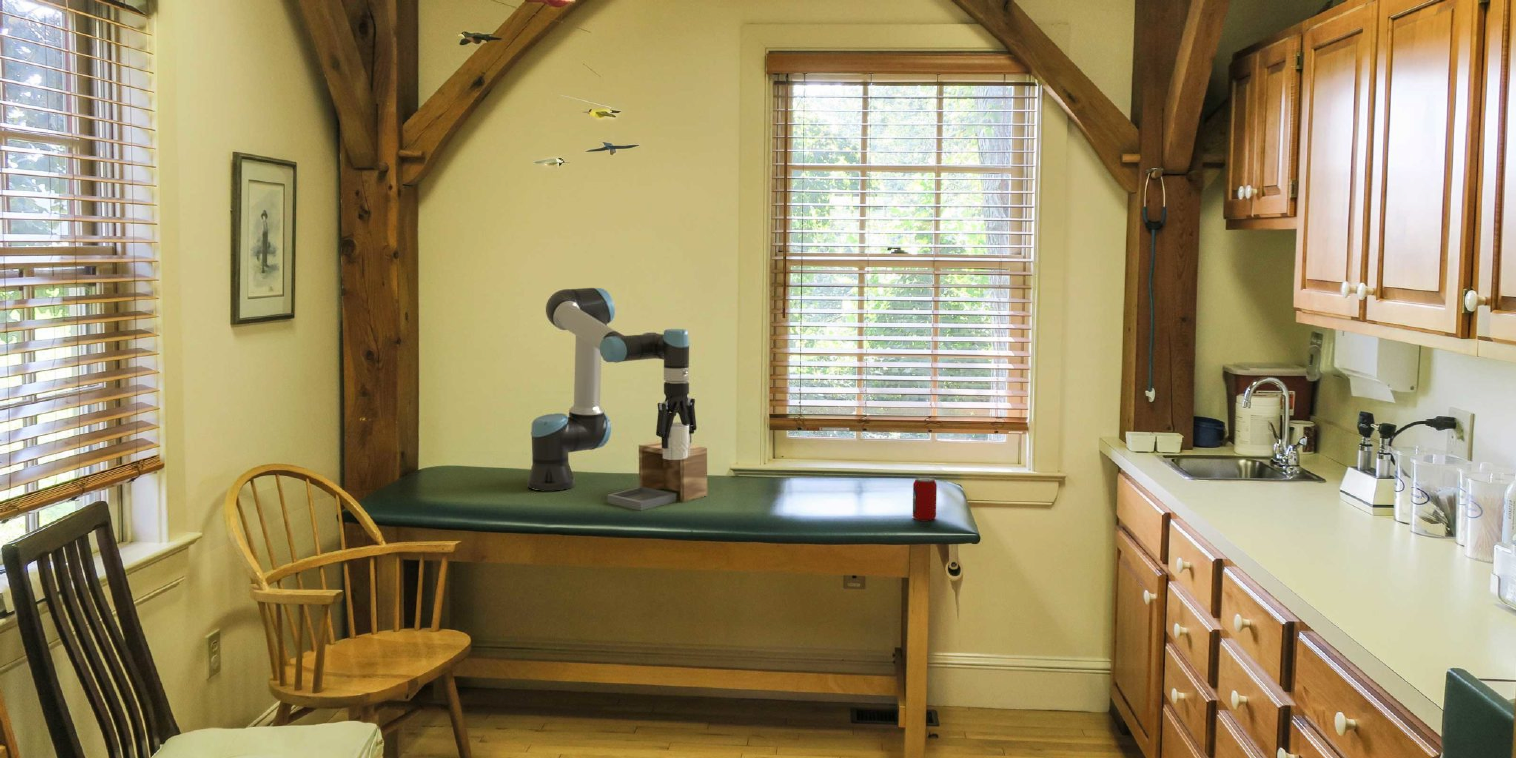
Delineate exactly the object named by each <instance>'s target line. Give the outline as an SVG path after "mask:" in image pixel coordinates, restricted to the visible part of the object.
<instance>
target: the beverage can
mask: <svg viewBox="0 0 1516 758" xmlns="http://www.w3.org/2000/svg"><path fill="white" fill-rule="evenodd" d="M937 487H938V486H937V482H936V481H935V478H934V477H931V476H918V477H915V480H914V481H913V485H912V488H913V489H912V517H913V518H914V519H915V520H916V521H920V520H921V522H930V521H933V520H934V519H936V517H937ZM932 519H933V520H932ZM929 520H930V521H929Z"/></svg>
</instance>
